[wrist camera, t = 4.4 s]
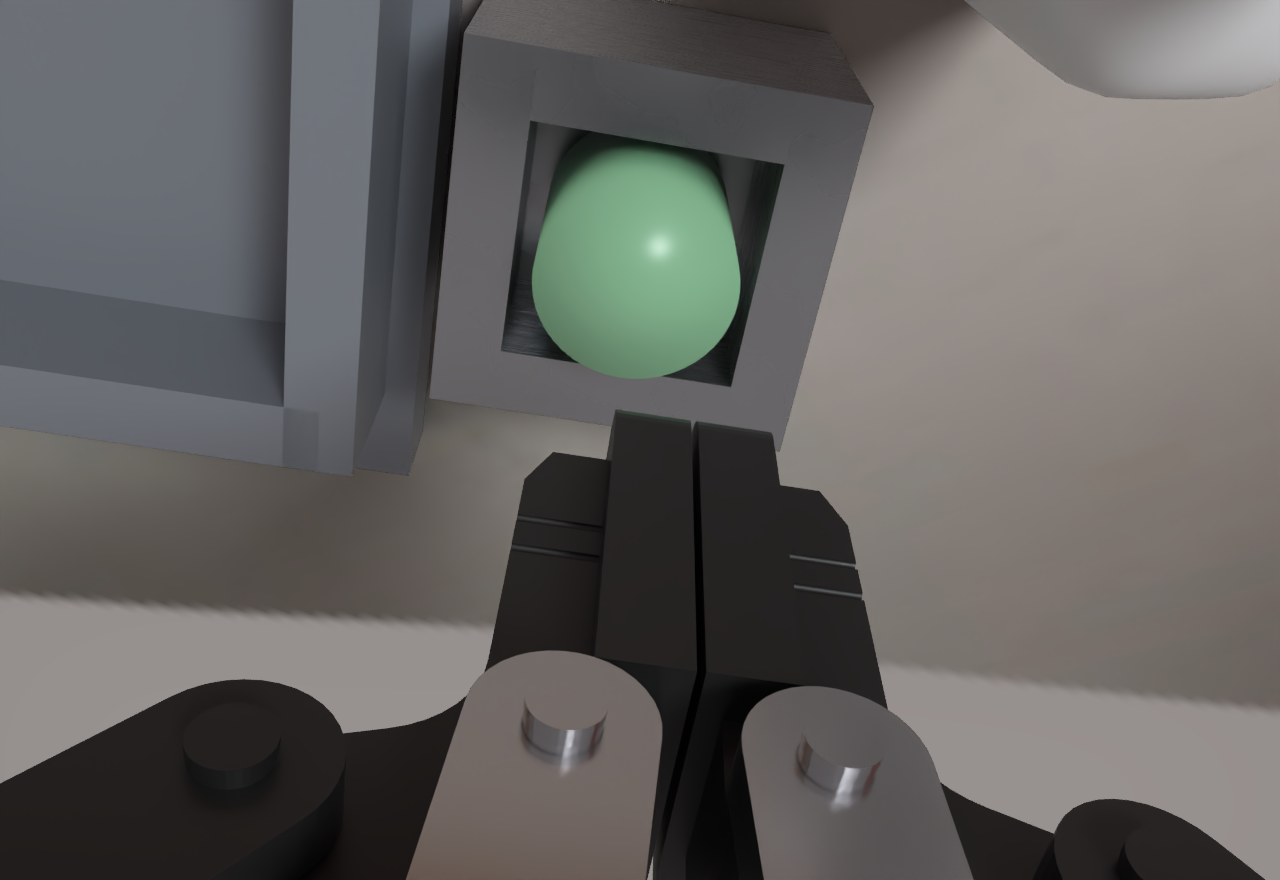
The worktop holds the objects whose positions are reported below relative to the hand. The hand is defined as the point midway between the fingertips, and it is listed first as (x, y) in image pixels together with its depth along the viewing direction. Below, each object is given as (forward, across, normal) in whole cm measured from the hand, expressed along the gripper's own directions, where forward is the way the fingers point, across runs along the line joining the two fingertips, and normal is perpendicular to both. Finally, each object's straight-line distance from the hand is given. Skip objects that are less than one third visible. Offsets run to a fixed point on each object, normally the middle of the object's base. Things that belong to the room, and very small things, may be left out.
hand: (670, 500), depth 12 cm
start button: (+7, +1, 0) cm, 7 cm away
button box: (+9, +1, 0) cm, 9 cm away
